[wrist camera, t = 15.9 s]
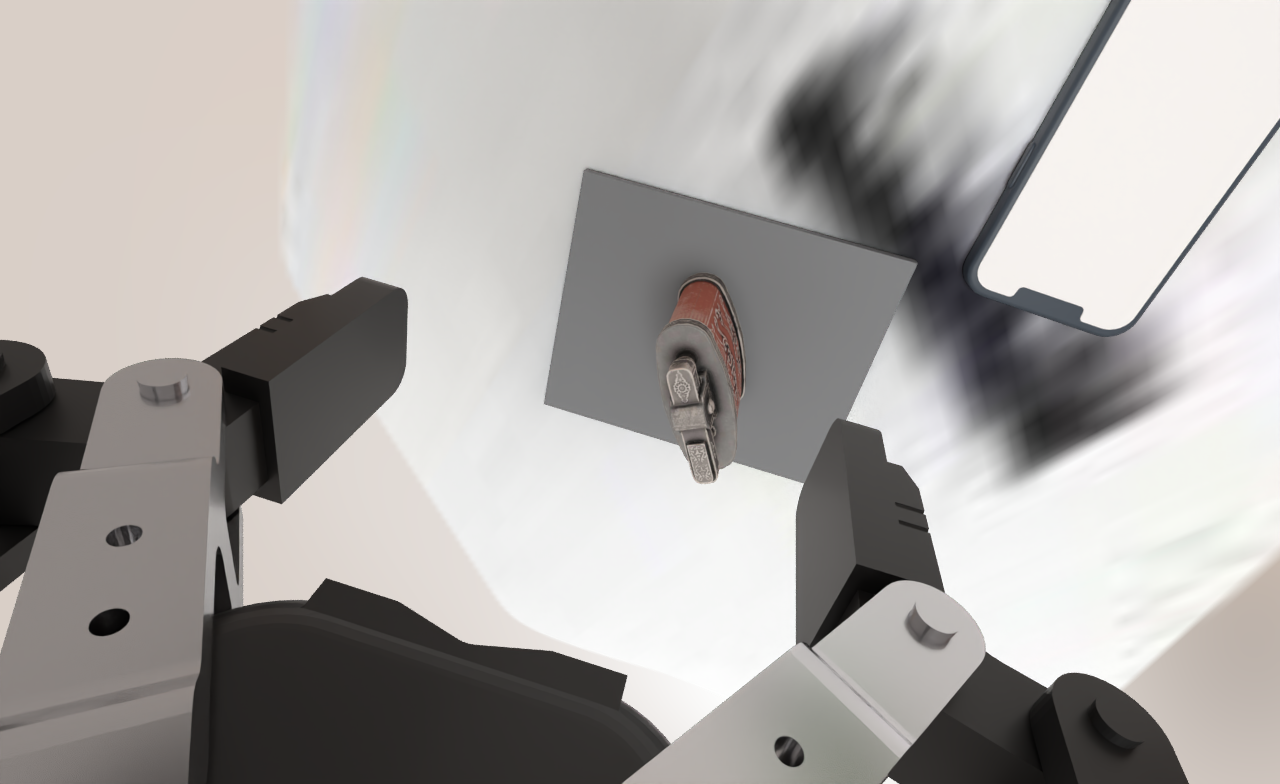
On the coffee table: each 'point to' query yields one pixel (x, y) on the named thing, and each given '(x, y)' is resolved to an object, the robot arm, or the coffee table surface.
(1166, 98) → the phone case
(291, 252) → the coffee table surface
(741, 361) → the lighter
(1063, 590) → the coffee table surface
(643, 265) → the rubber mat
